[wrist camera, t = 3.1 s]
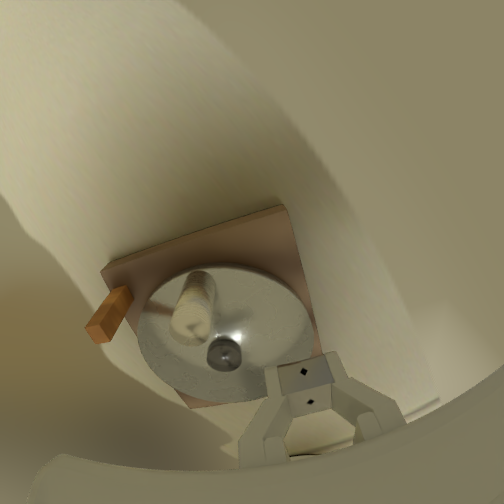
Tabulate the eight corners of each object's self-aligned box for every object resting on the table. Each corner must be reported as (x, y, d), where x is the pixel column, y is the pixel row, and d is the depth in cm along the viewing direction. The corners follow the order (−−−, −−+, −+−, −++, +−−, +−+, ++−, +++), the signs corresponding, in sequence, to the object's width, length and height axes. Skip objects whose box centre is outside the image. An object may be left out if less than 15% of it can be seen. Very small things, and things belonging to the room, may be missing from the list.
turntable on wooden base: (323, 367, 30) (340, 419, 22) (191, 397, 31) (185, 448, 23) (282, 204, 22) (305, 234, 15) (108, 262, 23) (67, 307, 16)
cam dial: (315, 377, 27) (331, 429, 20) (178, 398, 28) (170, 448, 21) (298, 240, 21) (324, 285, 14) (114, 281, 22) (77, 329, 15)
